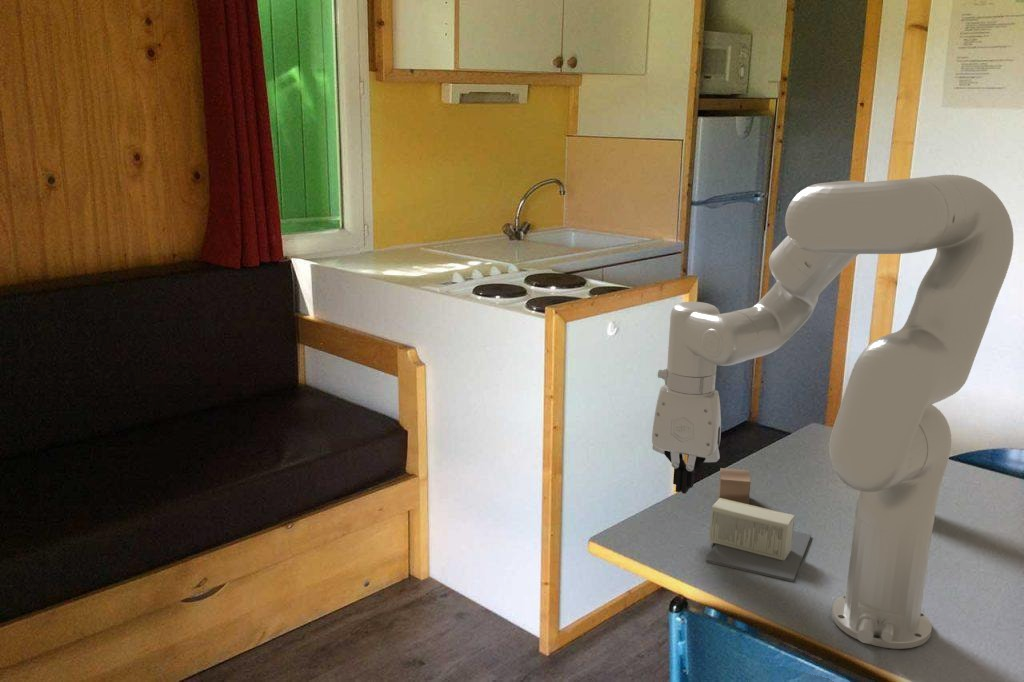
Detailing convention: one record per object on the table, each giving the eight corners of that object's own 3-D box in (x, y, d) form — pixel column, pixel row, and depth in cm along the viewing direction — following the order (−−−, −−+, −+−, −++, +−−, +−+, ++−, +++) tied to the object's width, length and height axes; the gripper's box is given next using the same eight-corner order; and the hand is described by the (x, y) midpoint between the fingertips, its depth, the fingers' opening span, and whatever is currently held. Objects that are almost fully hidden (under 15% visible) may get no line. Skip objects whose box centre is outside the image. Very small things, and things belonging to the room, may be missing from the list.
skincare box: (716, 531, 150) (791, 551, 145) (707, 542, 147) (784, 562, 141) (719, 495, 149) (796, 514, 143) (710, 505, 145) (789, 525, 139)
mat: (793, 581, 136) (793, 579, 136) (706, 561, 141) (706, 559, 141) (810, 536, 150) (811, 534, 150) (730, 520, 155) (731, 518, 155)
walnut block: (748, 508, 160) (750, 481, 159) (718, 505, 161) (720, 479, 160) (747, 496, 165) (749, 470, 164) (718, 494, 166) (720, 468, 164)
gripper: (637, 380, 144) (631, 489, 149) (732, 395, 138) (723, 508, 143) (652, 368, 151) (646, 472, 156) (744, 382, 144) (734, 490, 149)
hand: (683, 489), depth 149 cm, fingers closed
